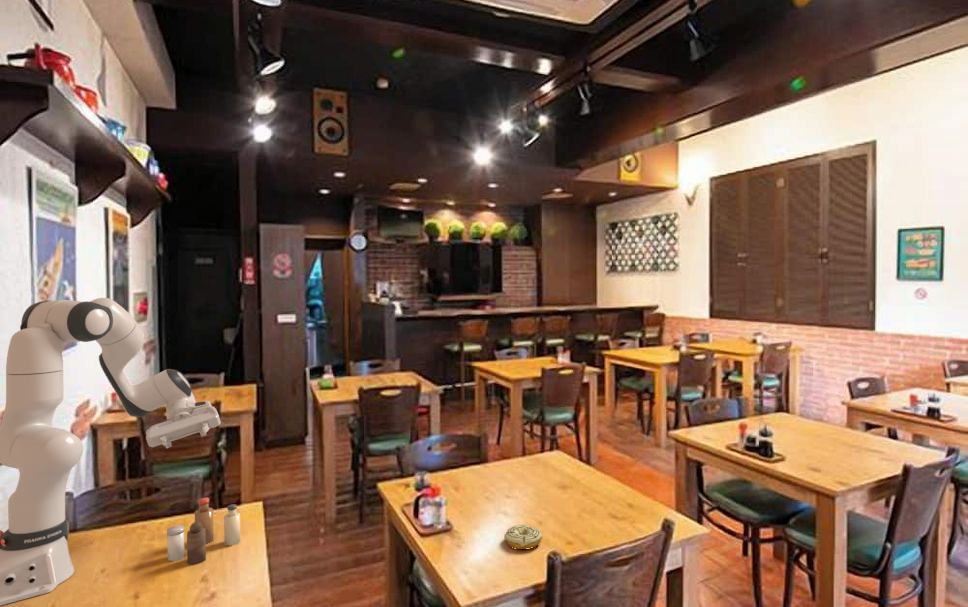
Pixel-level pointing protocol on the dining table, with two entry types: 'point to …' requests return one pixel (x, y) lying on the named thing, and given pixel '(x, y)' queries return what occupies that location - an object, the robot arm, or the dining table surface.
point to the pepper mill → (196, 544)
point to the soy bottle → (205, 518)
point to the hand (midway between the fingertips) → (185, 439)
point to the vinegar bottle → (232, 526)
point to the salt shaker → (175, 542)
